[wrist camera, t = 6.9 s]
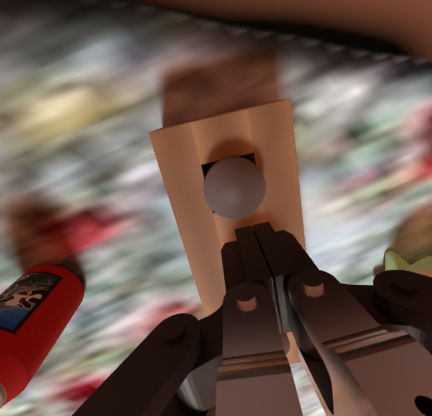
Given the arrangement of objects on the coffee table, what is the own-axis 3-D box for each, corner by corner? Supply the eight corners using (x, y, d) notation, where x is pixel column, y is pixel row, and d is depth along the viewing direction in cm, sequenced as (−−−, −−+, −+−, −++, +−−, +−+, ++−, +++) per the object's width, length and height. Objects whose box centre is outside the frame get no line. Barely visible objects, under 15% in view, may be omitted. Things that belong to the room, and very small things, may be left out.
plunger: (209, 194, 25) (211, 224, 18) (199, 151, 23) (196, 167, 16) (252, 185, 24) (270, 211, 18) (244, 140, 23) (260, 152, 16)
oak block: (221, 330, 32) (224, 376, 26) (162, 127, 22) (148, 132, 17) (296, 315, 32) (316, 358, 26) (269, 102, 22) (290, 98, 16)
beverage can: (54, 249, 27) (-54, 348, 15) (99, 289, 29) (33, 400, 18) (13, 280, 28) (-115, 392, 17) (60, 315, 30) (-26, 436, 19)
